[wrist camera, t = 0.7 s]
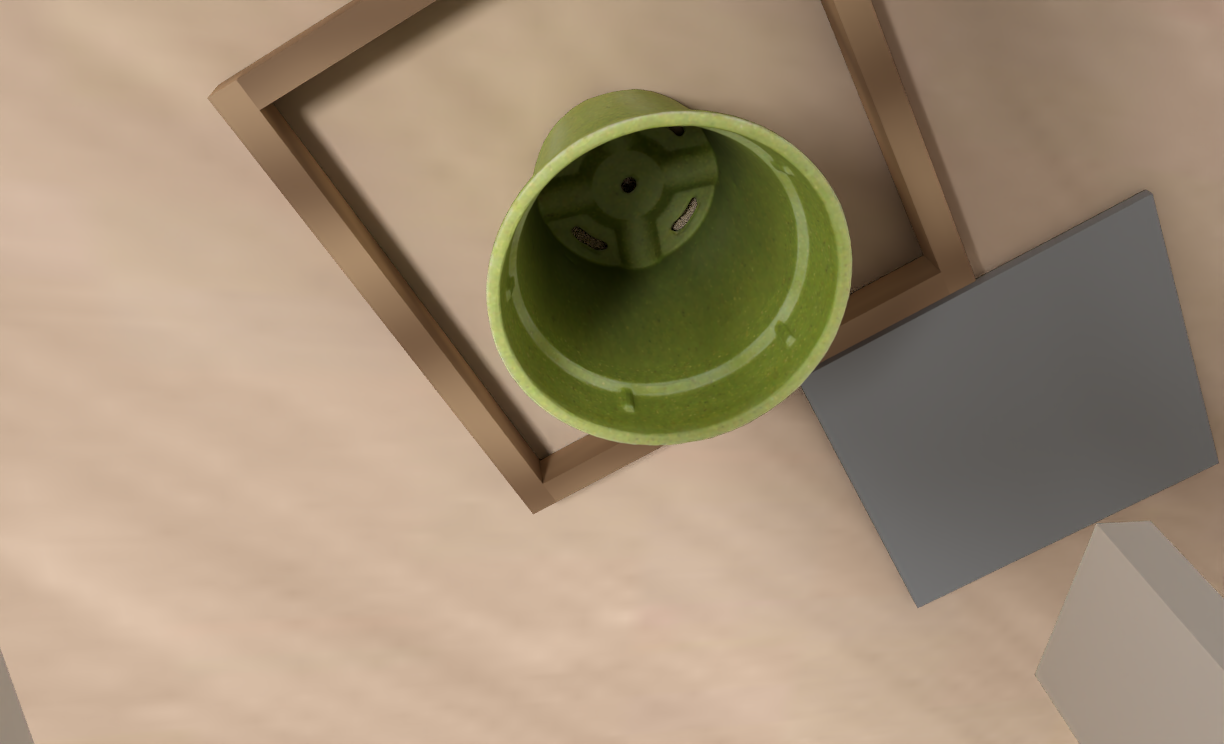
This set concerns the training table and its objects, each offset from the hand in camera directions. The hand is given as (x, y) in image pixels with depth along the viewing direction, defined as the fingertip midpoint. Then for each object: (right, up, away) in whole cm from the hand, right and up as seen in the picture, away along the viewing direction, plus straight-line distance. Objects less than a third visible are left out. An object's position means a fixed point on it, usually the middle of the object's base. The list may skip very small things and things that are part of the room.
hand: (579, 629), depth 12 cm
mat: (+17, +1, +28) cm, 32 cm away
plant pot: (+1, +9, +21) cm, 23 cm away
